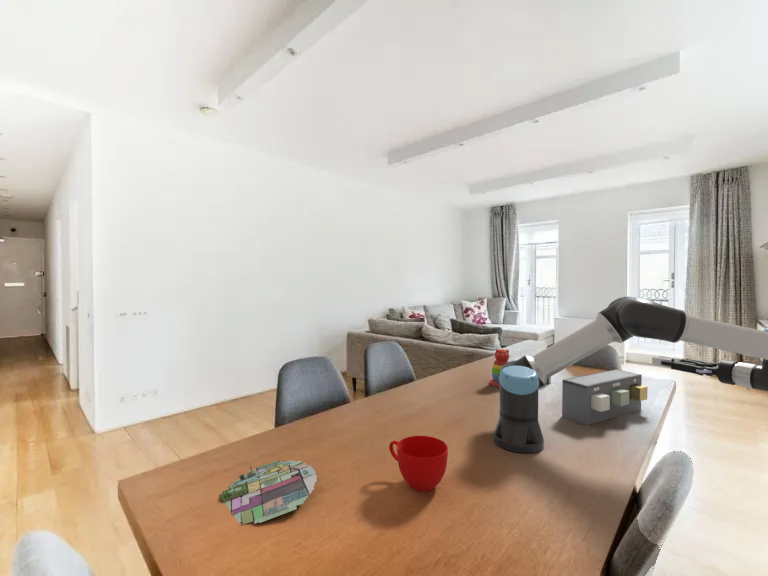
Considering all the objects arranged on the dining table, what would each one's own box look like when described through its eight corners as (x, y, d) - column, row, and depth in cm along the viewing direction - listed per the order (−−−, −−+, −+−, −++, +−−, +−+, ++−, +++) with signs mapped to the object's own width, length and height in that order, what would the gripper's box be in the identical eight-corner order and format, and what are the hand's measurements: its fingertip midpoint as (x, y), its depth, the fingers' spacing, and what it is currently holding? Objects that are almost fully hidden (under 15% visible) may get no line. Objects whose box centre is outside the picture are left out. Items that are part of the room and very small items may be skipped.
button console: (641, 409, 150) (642, 374, 150) (587, 425, 135) (588, 386, 134) (615, 402, 159) (616, 369, 159) (562, 416, 144) (562, 379, 143)
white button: (609, 409, 135) (609, 395, 135) (600, 411, 133) (601, 397, 133) (593, 404, 140) (593, 391, 140) (584, 406, 138) (585, 393, 138)
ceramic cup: (404, 462, 108) (404, 427, 108) (457, 482, 97) (457, 444, 97) (374, 481, 98) (374, 443, 98) (430, 506, 87) (430, 463, 87)
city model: (201, 501, 93) (197, 478, 93) (285, 458, 110) (283, 438, 109) (246, 555, 76) (242, 528, 75) (338, 494, 92) (336, 471, 91)
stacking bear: (510, 382, 189) (510, 347, 189) (515, 388, 179) (515, 351, 179) (488, 382, 190) (488, 347, 190) (492, 388, 180) (492, 351, 180)
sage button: (629, 404, 141) (629, 390, 140) (621, 406, 138) (621, 392, 138) (613, 399, 146) (613, 386, 146) (605, 401, 144) (605, 388, 143)
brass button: (647, 399, 146) (647, 386, 146) (639, 401, 144) (640, 388, 144) (631, 395, 151) (631, 382, 151) (623, 396, 149) (623, 384, 149)
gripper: (724, 389, 116) (643, 372, 137) (748, 382, 124) (667, 367, 145) (725, 365, 116) (643, 351, 137) (748, 359, 124) (668, 347, 145)
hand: (656, 359), depth 141 cm, fingers open, 4 cm apart
